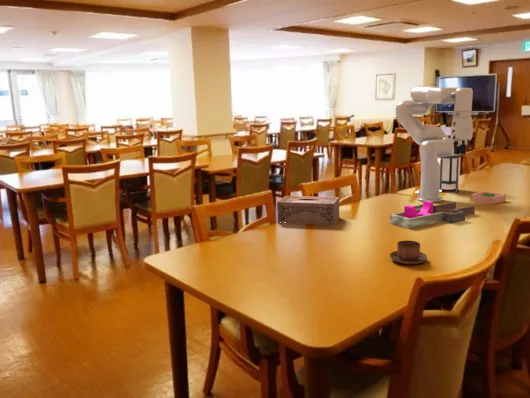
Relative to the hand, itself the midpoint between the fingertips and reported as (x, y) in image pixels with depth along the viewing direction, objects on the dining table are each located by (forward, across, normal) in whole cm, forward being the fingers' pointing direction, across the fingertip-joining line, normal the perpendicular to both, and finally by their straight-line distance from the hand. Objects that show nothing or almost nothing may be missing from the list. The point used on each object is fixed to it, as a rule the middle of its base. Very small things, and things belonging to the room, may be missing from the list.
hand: (459, 153), depth 227 cm
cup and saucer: (+25, -73, -46) cm, 90 cm away
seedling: (+27, +21, 0) cm, 34 cm away
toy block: (+27, -32, -9) cm, 42 cm away
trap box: (+26, -25, -10) cm, 37 cm away
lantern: (+28, +29, +32) cm, 51 cm away
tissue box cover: (+27, -72, +19) cm, 80 cm away
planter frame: (+27, +24, +2) cm, 36 cm away
